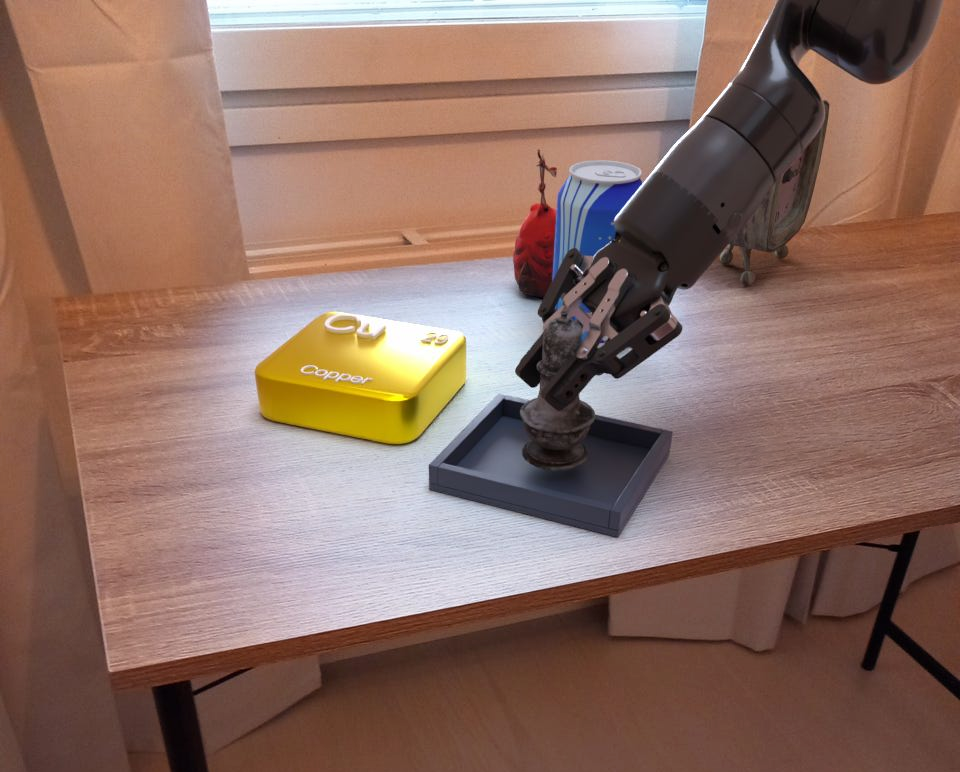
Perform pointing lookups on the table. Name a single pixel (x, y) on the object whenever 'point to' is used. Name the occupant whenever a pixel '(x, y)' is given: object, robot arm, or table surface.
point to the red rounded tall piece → (536, 243)
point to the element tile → (362, 377)
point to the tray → (552, 493)
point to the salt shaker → (543, 424)
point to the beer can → (591, 209)
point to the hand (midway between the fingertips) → (537, 391)
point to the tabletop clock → (780, 208)
